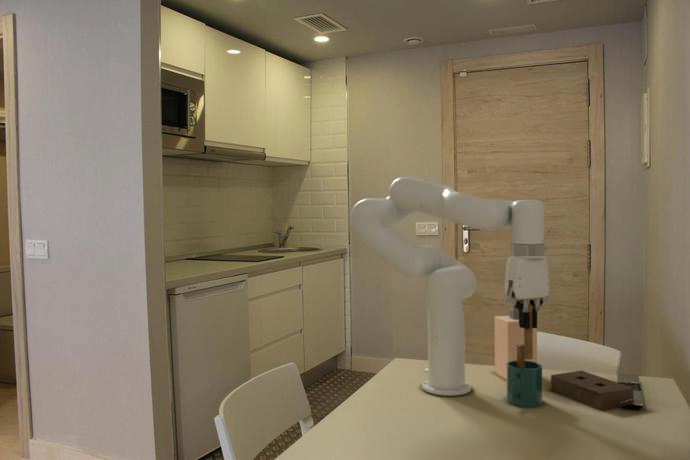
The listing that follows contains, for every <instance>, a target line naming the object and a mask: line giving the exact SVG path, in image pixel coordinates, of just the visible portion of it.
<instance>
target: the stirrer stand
mask: <svg viewBox="0 0 690 460" xmlns="http://www.w3.org/2000/svg"><path fill="white" fill-rule="evenodd" d="M550 391H552V392H554V393H557V394H559V395H562V396H564V397H567V398H569V399H572V400H574V401H577V402H579V403H581V404H584V405H587V406H589V407H591V408H594V409H597V410H599V411H605V410H611V409H615V408H621V407H627V406H631V405H634V387H632V386H628V385H626V384H623V383H620V382H617V381H614V380H611V379H608V378H605V377H602V376H599V375H596V374H593V373H590V372H587V371H584V370H576V371H569V372H562V373H556V374H551V375H550ZM629 399H633V401H627V402H623V401H626V400H629ZM621 402H622V403H621Z"/></svg>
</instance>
